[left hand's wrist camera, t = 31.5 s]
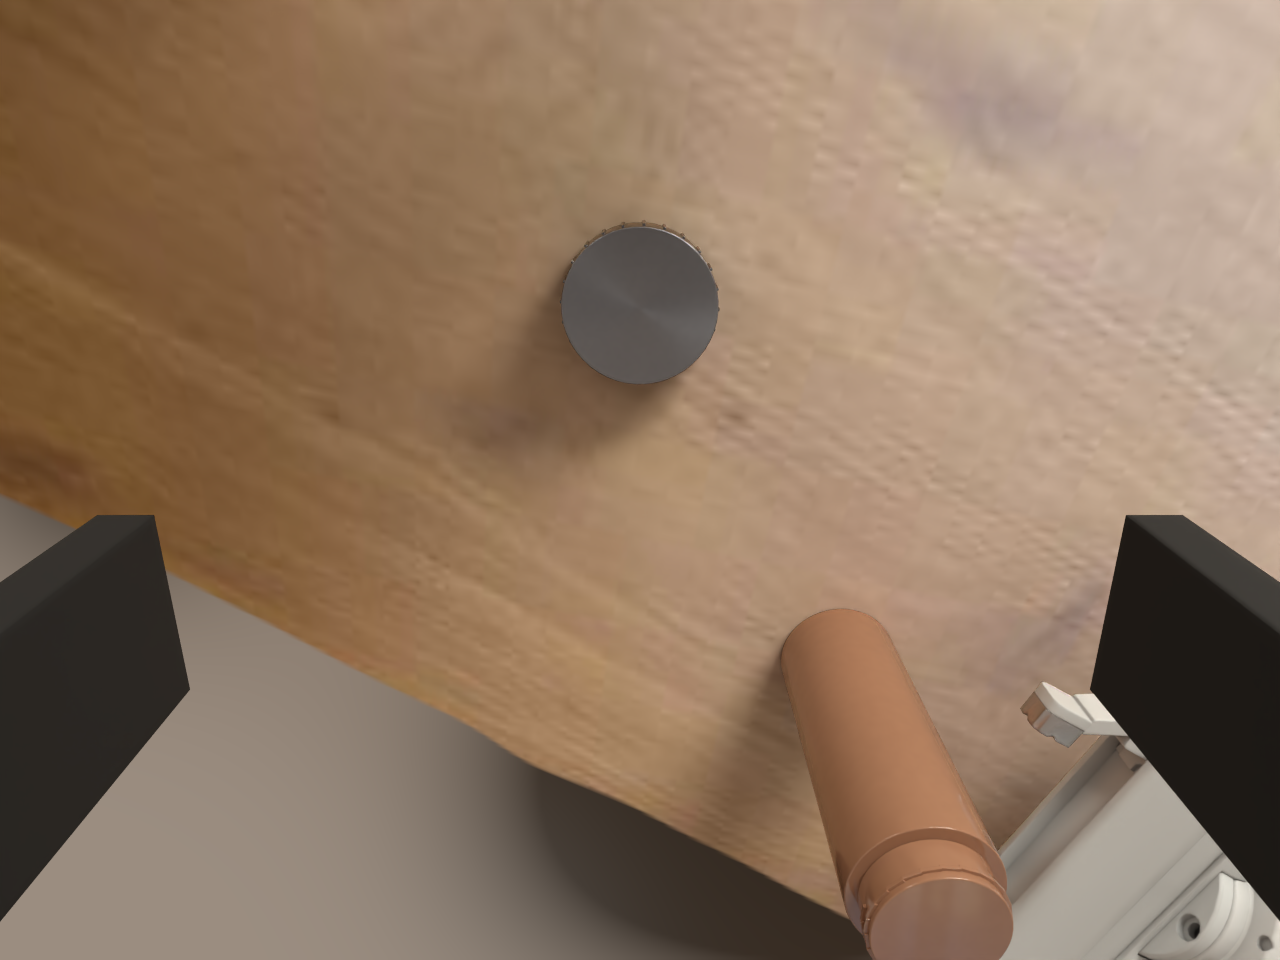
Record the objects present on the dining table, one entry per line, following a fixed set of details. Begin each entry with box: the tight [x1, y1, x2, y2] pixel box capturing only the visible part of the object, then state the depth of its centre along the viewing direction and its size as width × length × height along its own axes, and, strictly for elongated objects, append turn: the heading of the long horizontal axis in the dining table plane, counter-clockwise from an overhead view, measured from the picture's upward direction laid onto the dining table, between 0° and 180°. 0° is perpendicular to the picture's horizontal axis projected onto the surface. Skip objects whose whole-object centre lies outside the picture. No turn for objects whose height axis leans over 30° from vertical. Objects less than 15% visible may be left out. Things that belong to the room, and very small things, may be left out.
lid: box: [560, 220, 719, 384], centre depth 37 cm, size 6×6×2 cm
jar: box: [781, 609, 1013, 960], centre depth 36 cm, size 5×5×16 cm
